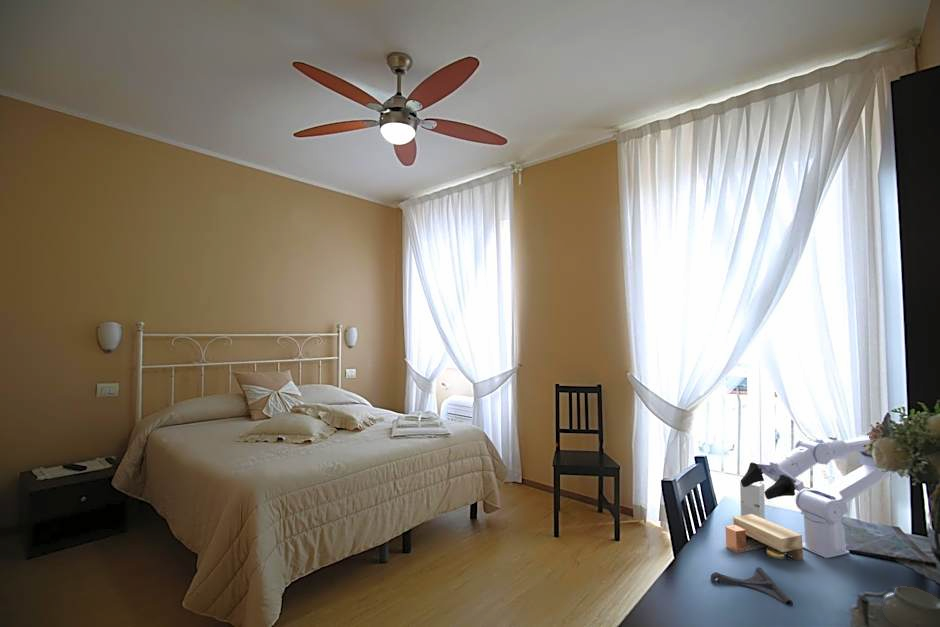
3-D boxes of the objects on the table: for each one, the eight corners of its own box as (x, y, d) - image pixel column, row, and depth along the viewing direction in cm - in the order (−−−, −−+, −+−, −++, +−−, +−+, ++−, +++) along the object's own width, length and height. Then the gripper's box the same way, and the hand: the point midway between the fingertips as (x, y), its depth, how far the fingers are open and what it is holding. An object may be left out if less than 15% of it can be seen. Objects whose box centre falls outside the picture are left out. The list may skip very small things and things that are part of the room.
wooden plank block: (753, 535, 132) (752, 513, 132) (803, 559, 118) (801, 535, 118) (734, 538, 130) (733, 517, 130) (783, 563, 116) (781, 539, 116)
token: (774, 551, 123) (773, 545, 123) (789, 558, 119) (789, 552, 119) (762, 553, 122) (762, 548, 122) (777, 560, 117) (777, 555, 118)
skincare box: (740, 517, 145) (738, 481, 146) (746, 514, 148) (744, 478, 148) (760, 523, 140) (758, 486, 141) (766, 520, 143) (764, 483, 143)
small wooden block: (756, 541, 128) (755, 521, 129) (767, 546, 125) (766, 526, 125) (726, 547, 125) (725, 526, 125) (736, 553, 122) (735, 531, 122)
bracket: (701, 568, 115) (701, 558, 115) (762, 573, 112) (762, 562, 112) (723, 602, 101) (722, 589, 101) (793, 608, 98) (792, 595, 98)
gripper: (763, 445, 129) (728, 467, 126) (811, 464, 115) (773, 488, 112) (770, 465, 130) (735, 487, 127) (818, 486, 116) (781, 511, 113)
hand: (754, 489), depth 120 cm, fingers open, 7 cm apart
